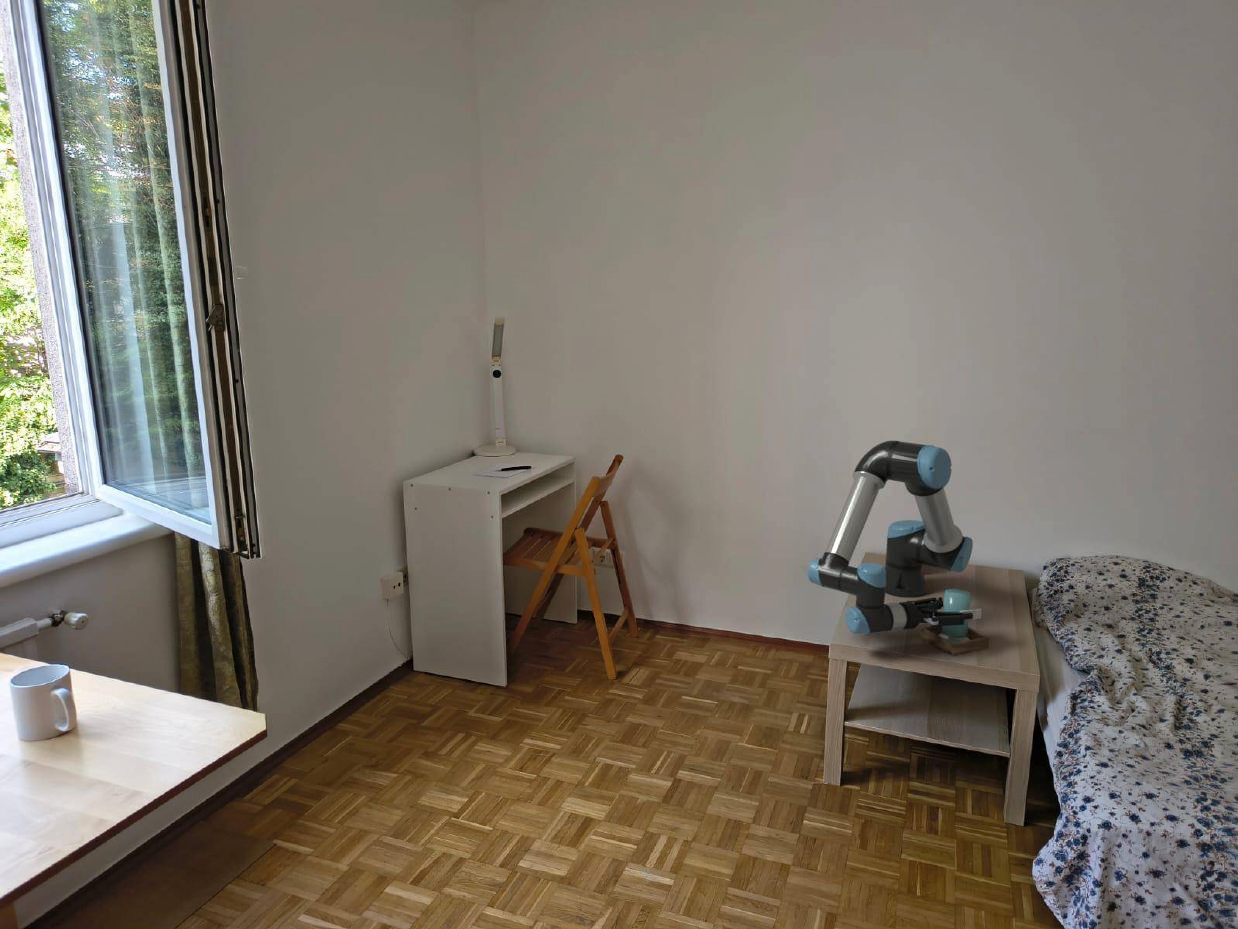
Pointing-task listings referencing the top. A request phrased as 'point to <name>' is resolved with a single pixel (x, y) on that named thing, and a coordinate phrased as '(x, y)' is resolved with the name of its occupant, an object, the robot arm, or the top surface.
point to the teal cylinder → (955, 603)
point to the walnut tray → (973, 644)
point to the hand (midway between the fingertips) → (971, 608)
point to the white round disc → (954, 639)
